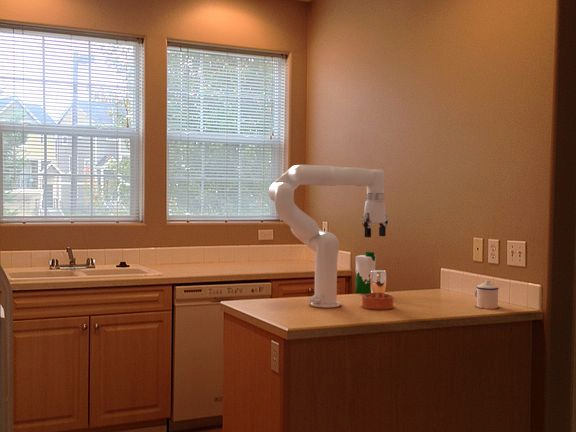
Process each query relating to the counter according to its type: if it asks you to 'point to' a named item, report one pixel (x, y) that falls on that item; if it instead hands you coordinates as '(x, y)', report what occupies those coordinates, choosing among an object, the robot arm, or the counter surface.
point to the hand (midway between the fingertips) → (375, 236)
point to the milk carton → (364, 272)
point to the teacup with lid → (487, 295)
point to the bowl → (377, 302)
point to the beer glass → (377, 283)
